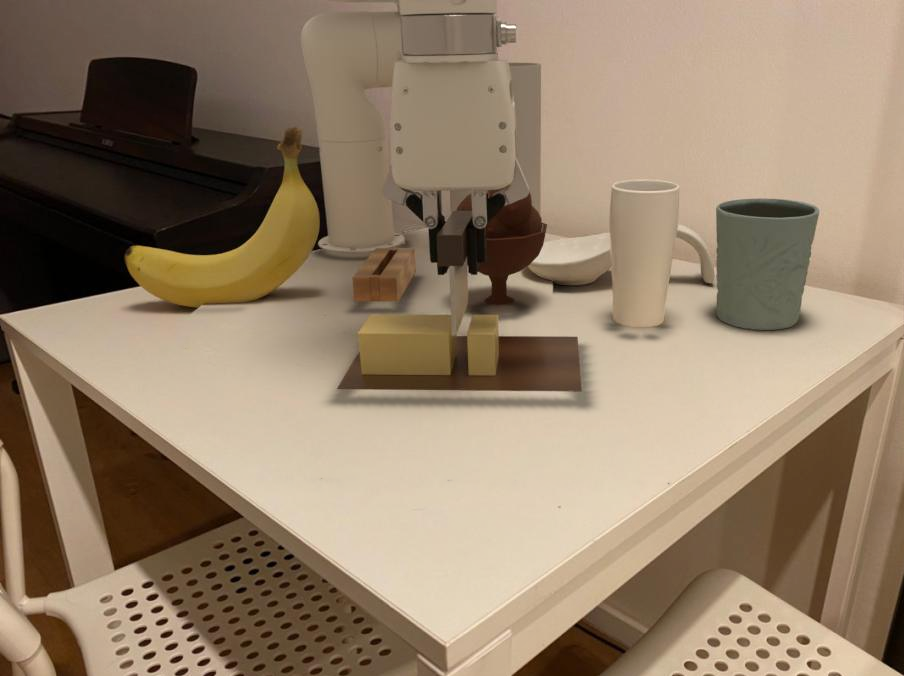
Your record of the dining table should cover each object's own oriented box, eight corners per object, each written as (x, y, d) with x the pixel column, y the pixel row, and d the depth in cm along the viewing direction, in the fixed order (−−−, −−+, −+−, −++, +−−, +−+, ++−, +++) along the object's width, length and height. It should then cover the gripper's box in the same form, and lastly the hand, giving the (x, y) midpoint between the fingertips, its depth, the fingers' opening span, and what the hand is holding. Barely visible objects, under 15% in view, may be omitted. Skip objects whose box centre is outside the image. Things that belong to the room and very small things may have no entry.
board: (369, 346, 81) (368, 335, 81) (577, 347, 80) (577, 336, 80) (338, 401, 69) (336, 388, 69) (581, 403, 68) (581, 390, 68)
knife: (456, 300, 76) (453, 210, 73) (477, 300, 76) (474, 210, 73) (441, 337, 66) (436, 235, 63) (465, 337, 66) (461, 234, 63)
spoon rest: (519, 292, 97) (518, 234, 94) (525, 266, 108) (524, 212, 105) (719, 294, 95) (724, 234, 92) (704, 267, 105) (709, 212, 103)
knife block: (378, 278, 104) (375, 247, 102) (416, 278, 103) (414, 247, 102) (355, 310, 92) (352, 277, 90) (398, 311, 91) (396, 277, 90)
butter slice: (473, 354, 76) (472, 314, 74) (499, 354, 75) (498, 314, 74) (468, 375, 71) (466, 333, 69) (495, 376, 71) (494, 333, 69)
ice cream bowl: (548, 295, 96) (549, 167, 90) (543, 327, 85) (544, 185, 79) (460, 294, 97) (455, 167, 91) (445, 325, 86) (438, 185, 80)
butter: (373, 353, 76) (369, 314, 75) (456, 354, 76) (455, 314, 74) (361, 374, 72) (357, 332, 70) (450, 375, 71) (448, 333, 69)
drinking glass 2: (670, 342, 81) (680, 192, 75) (602, 338, 82) (608, 191, 76) (670, 319, 87) (680, 179, 81) (608, 316, 88) (613, 178, 82)
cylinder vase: (502, 237, 122) (499, 61, 112) (558, 253, 113) (561, 63, 103) (435, 252, 115) (425, 65, 105) (489, 270, 106) (485, 68, 96)
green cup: (810, 335, 82) (828, 218, 77) (709, 330, 84) (720, 216, 79) (795, 304, 91) (810, 197, 86) (704, 300, 93) (713, 196, 88)
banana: (125, 315, 92) (86, 134, 84) (144, 299, 97) (110, 127, 89) (323, 310, 92) (303, 129, 84) (331, 295, 97) (314, 123, 89)
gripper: (552, 39, 65) (550, 259, 73) (359, 43, 66) (377, 259, 74) (552, 40, 58) (550, 283, 66) (337, 44, 59) (359, 283, 67)
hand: (459, 269), depth 70 cm, fingers closed on knife, 2 cm apart
